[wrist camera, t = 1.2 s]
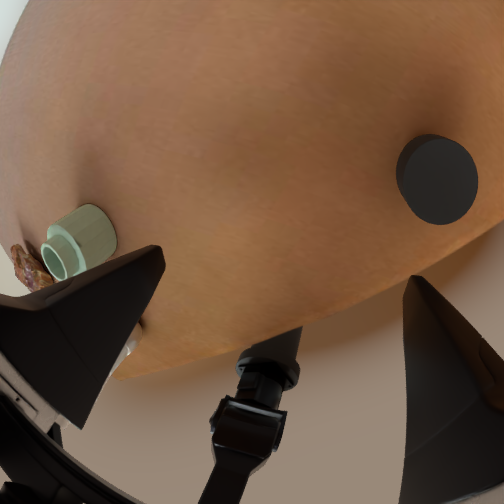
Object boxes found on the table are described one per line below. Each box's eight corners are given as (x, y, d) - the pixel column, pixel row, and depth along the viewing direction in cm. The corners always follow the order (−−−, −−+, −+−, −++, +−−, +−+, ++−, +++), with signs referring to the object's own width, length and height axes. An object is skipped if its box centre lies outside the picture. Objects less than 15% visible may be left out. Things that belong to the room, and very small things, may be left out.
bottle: (126, 244, 28) (83, 283, 22) (100, 262, 32) (63, 296, 26) (93, 193, 26) (44, 223, 20) (71, 218, 30) (30, 247, 23)
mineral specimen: (20, 267, 41) (-1, 272, 34) (31, 238, 40) (9, 240, 34) (52, 304, 42) (32, 314, 35) (65, 276, 42) (44, 283, 35)
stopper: (456, 185, 16) (484, 210, 12) (400, 206, 18) (416, 236, 14) (436, 120, 14) (465, 127, 10) (376, 142, 16) (390, 155, 12)
